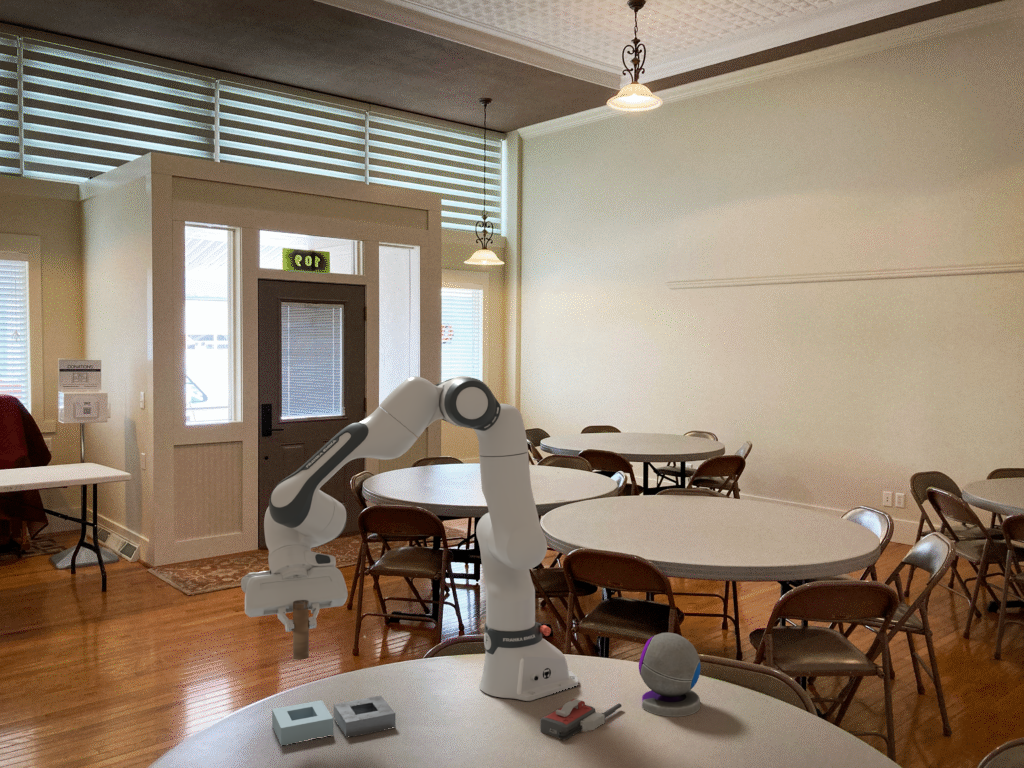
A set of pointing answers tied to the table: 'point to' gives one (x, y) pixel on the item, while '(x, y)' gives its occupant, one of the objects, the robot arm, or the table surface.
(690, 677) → the webcam
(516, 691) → the robot arm
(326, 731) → the block
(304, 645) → the peg
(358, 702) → the socket block
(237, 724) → the table surface
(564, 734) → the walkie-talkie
